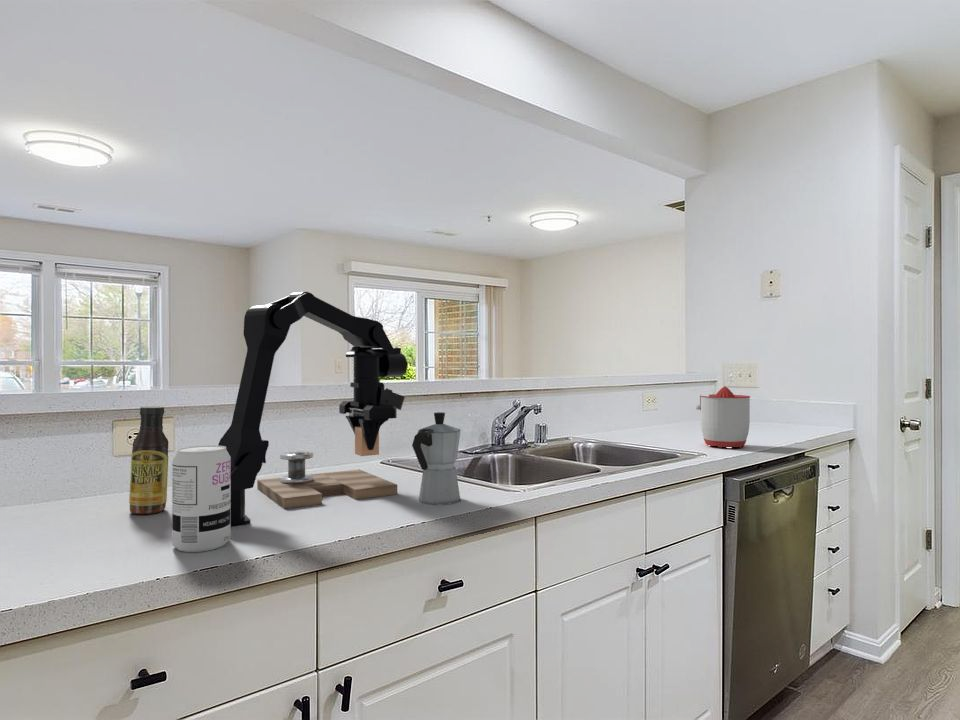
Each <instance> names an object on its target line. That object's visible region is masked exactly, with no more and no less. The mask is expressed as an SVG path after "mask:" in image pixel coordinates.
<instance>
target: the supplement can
mask: <svg viewBox="0 0 960 720" xmlns="http://www.w3.org/2000/svg"><path fill="white" fill-rule="evenodd" d="M171 465H172V466H171V467H172V469H171V471H172V472H171V473H172V474H171V475H172V477H171V478H172V479H171V481H172V482H171V488H172V491H171V493H172V494H171V502H172V503H171V504H172V505H171V506H172V507H171V510H172V511H171V515H172V516H171V518H172V519H171V520H172V521H171V530H172V531H171V533H172V535H171V541H172V546H173V547H175V548H176V550H177V551H180V552H185V553H200V552H207V551H213V550H216V549H220V548H222V547H224V546H225V545H226V544H227V542H228V541H229V540H230V539H231V537H232V536H231V535H232V534H231V526H232V525H231V457H230V455H229V453H228V451H227V450H226V447H225V446H218V445H216V444H215V445H212V444H211V445H207V444H206V445H195V446H193V445H192V446H185V447H180V448H178V449H176V452H175V454H174V455H173V457H172V461H171Z"/></svg>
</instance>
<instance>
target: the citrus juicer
mask: <svg viewBox="0 0 960 720" xmlns="http://www.w3.org/2000/svg"><path fill="white" fill-rule="evenodd" d="M750 398H751V395H745V394H744V395H742V394H734V393H733V392H732V391H731V389H729V388H728V387H727V386H723V387H722V388H720V389H719V390H718V391H717V393H715V394H713V393H712V394H708V395H702V394H700V395H699V404H698V405H697V406H696V410H697V411H700V426H701V433H702V436H703V441H704V443H705V445H706V444H707V445H706V446H708V445H710V446H718V447H717V448H722V447H740V448H743V447H742V446H744V447H745V445H746V443H747V439H748V436H749V431H750V418H751V415H750V414H751V413H750V406H751V404H750V400H751V399H750Z"/></svg>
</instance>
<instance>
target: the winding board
mask: <svg viewBox="0 0 960 720" xmlns="http://www.w3.org/2000/svg"><path fill="white" fill-rule="evenodd" d="M308 475H312V476H313V481H312V482H309V483H303V484H283V483H280V478H281V477H282V476H281V477H272V478H271V477H270V478H261V479H257V480H256V482H257V483H256V485H257V487H256V488H257V490H258V491H259V492H261V493H262V494H263V495H264V496H266V497H268V499H270V500H271V501H273V502H274V503H275V504H276V505H278V506H280V507H281V508H282V509H291V508H292V509H294V508H299V507H300V508H301V507H306V506H308V507H309V506H315V505H316V506H317V505H321V504H322V503H323V496H333V495H339V494H344V495H346V496H348V497H350V498H351V499H354V500H361V499H368V498H377V497H383V496H384V497H385V496H392V495H393V496H394V495H398V484H397V483H395V482H392V481H389V480H387V479H384V478H382V477H379V476H377V475H374V474H372V473H370V472H367V471H365V470H361V469H351V470H349V469H348V470H342V471H341V470H340V471H331V472H320V473H319V472H318V473H310V474H309V473H308Z"/></svg>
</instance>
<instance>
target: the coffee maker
mask: <svg viewBox="0 0 960 720" xmlns="http://www.w3.org/2000/svg"><path fill="white" fill-rule="evenodd" d="M433 415H434V424H431V425H428V426H425V427H423V428H420V429H418V430H417V431H418V432H417V434H415V435H414V437H413V440H412V441H413V442H412V444H411V447H412V449H413V451H414V453H415V456H416V458H417V461H418V465H419V466H420V468H421V470H422V475H421V476H422V477H421V483H420V490H419V495H418V500H419V502H420V503H421V504H426V505H432V504H433V505H434V506H438V505H437V504H442V505H450V504H449V503H453V504H455V503H454V502H456V503H457V501H458V502H460V501H459V500H461V495H460V487H459V481H458V475H457V468H456V465H455V462H456V461H457V460H458V452H459V445H460V437H461V432H462V431H461V428H458V427H455V426H451V425H449V424H445V423H444V421H445V415H446V412H439V411H437V412H433ZM433 505H432V506H433Z"/></svg>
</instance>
